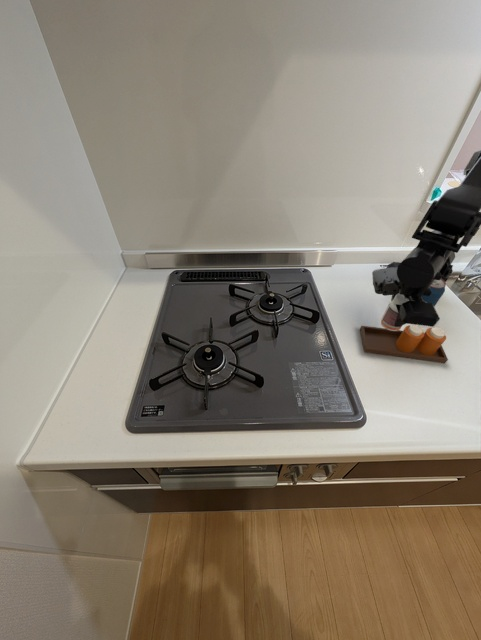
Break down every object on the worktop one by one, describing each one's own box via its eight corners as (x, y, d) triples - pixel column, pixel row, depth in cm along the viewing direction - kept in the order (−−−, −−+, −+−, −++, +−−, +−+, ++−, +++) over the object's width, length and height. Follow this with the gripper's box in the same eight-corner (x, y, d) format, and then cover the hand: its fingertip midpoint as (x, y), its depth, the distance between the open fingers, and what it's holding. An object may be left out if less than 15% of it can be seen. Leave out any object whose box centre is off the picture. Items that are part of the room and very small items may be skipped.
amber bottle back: (413, 341, 73) (425, 323, 68) (431, 343, 72) (444, 326, 68) (418, 354, 70) (431, 337, 65) (437, 356, 69) (451, 339, 65)
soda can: (395, 307, 83) (413, 274, 75) (416, 304, 84) (436, 272, 76) (409, 323, 78) (430, 290, 70) (431, 320, 79) (454, 287, 71)
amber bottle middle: (394, 338, 73) (404, 321, 69) (411, 340, 73) (423, 323, 68) (397, 351, 70) (409, 334, 66) (416, 353, 70) (428, 336, 65)
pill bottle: (402, 333, 66) (419, 307, 60) (381, 330, 66) (395, 303, 60) (398, 319, 69) (413, 293, 63) (378, 316, 70) (391, 290, 64)
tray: (359, 330, 76) (361, 325, 75) (433, 340, 74) (437, 334, 73) (363, 353, 70) (366, 348, 69) (443, 364, 68) (448, 359, 67)
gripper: (375, 237, 63) (354, 290, 74) (393, 287, 50) (365, 343, 61) (427, 241, 62) (398, 295, 73) (460, 294, 48) (418, 350, 59)
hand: (394, 318), depth 66 cm, fingers closed on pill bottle, 5 cm apart
